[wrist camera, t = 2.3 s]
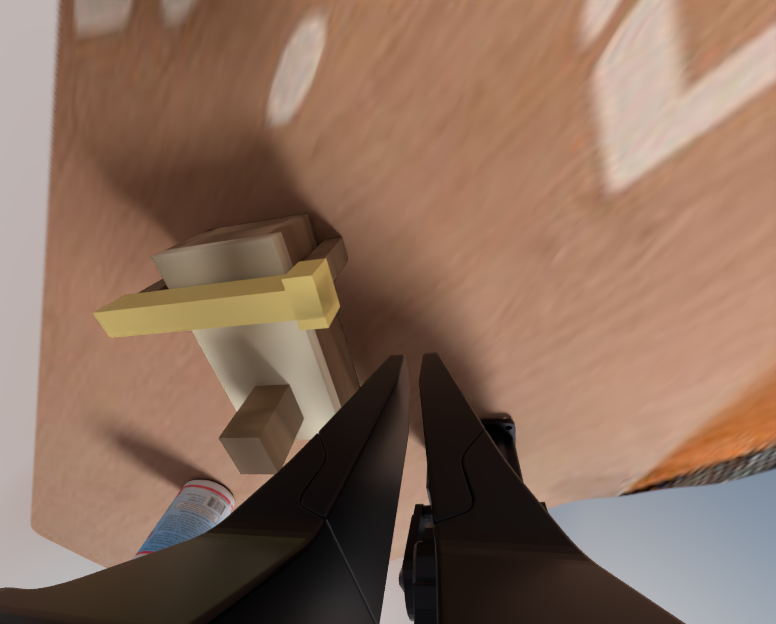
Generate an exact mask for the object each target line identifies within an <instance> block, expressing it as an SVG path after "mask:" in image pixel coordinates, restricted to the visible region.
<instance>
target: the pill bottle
mask: <svg viewBox="0 0 776 624" xmlns="http://www.w3.org/2000/svg"><path fill="white" fill-rule="evenodd" d="M234 503H235V502H234V498H233V496H232V494H231V493H230V492H229V491H228V490H227V489H226V488H224V487H223V486H221V485H219V484H217V483H215V482H213V481H209V480H192V481H189V482H187V483H186V484H185V485H184V486H183V488H182V489H181V490H180V492H179V493H178V495H177V496H176V498H175V499H174V500H173V502H172V503H171V505H170V506H169V508H168V509H167V510H166V512H165V513H164V515H163V516H162V518H161V519H160V521H159V522H158V524H157V525H156V526H155V528H154V529H153V531H152V532H151V534H150V535H149V536H148V538H147V539H146V541H145V542H144V544H143V545H142V547H141V548H140V550H139V551H138V553H137V554H136V555H135V557H134V558H133V559H135V558H138V557H141V556H144V555H147V554H150V553H152V552H155V551H158V550H161V549H164V548H167V547H170V546H172V545H175V544H178V543H181V542H184V541H187V540H189V539H192V538H194V537H196V536H199V535H201V534H203V533H205V532H206V531H208V530H210V529H211V528H213V527H214V526H216V525H217V524H219V523H220V522H221V521H223V520H224V519H225V518H226V517H227V516H229V515H230V513H231V511H232V509H233V507H234Z"/></svg>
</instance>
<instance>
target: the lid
mask: <svg viewBox="0 0 776 624" xmlns="http://www.w3.org/2000/svg"><path fill="white" fill-rule="evenodd" d="M151 258H152V260H153V261H154V263H155V265H156V267H157V269H158V270H159V272H160V274H161V276H162V278H163V279H164V281H165V283H166V285H167V287H168V288H169V289H175V288H183V287H191V286H199V285H207V284H215V283H223V282H230V281H238V280H246V279H254V278H262V277H270V276H278V275H286V274H287V273H288V272H289V271H290V270H291V269H292V268H293V265H292V262H291V260H290V257H289V254H288V251H287V248H286V245H285V242H284V239H283V236H282V233H281V232H279V233H273V234H266V235H260V236H254V237H247V238H241V239H234V240H228V241H222V242H215V243H209V244H203V245H196V246H190V247H183V248H177V249H171V250H165V251H163V252H160V253H158V254H156V255H154V256H152V257H151ZM192 332H193V334H194V335H195V337H196V339H197V341H198V343H199V344H200V346H201V348H202V350H203V352H204V353H205V355H206V357H207V359H208V361H209V362H210V364H211V366H212V368H213V370H214V371H215V373H216V375H217V377H218V379H219V380H220V382H221V384H222V386H223V388H224V389H225V391H226V393H227V395H228V397H229V398H230V400H231V402H232V404H233V406H234V407H235V409H236V411H237V413H236V414H235V415H234V417H233V418H232V420H231V421H230V423H229V424H228V425H227V427H226V428H225V430H224V431H223V433H222V434H221V435H220V437H219V440H220V441H221V443H222V444H223V446H224V448H225V449H226V451H227V452H228V454H229V456H230V457H231V459H232V460H233V462H234V464H235V465H236V467H237V468H238V470H239V472H240V473H241V474H276V473H277V472H278V471H279V470H280V469H281V468H282V466H283V464H284V462H285V460H286V457H287V455H288V453H289V451H290V449H291V447H292V444H293V442H294V440H295V439H312V438H313V437H314V436H315V435H316V434H317V433H318V434H319V430H320V429H321V428H322V427H323V426H324V425H325V424H326V423H327V422H328V421H329V420H330V419H331V418H332V417H333V416H334V415H335V413H336V412H337V411H338V410H339V409H340V408H341V405H340V402H339V399H338V396H337V393H336V390H335V388H334V385H333V382H332V379H331V376H330V373H329V370H328V367H327V364H326V361H325V358H324V356H323V353H322V350H321V347H320V344H319V341H318V338H317V335H316V332H315V329H311V330H300V329H299V326H298V323H297V320H294V321H283V322H273V323H262V324H251V325H241V326H230V327H219V328H209V329H198V330H192Z"/></svg>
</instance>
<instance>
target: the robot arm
mask: <svg viewBox="0 0 776 624" xmlns="http://www.w3.org/2000/svg"><path fill="white" fill-rule="evenodd" d="M419 387H420V397H421V407H422V417H423V427H424V437H425V447H426V457H427V484H426V488H427V493H428V498H429V502H430V505H423V504H416V505H415V509H414V515H412V518H411V523H410V529H409V534H408V539H407V544H406V549H405V555H404V560H403V565H402V568H401V571H400V574H399V585H400V587H401V588H402V590H403V591H404V593H405V603H406V609H407V614H408V617H409V619H410V620H411V621H414V624H685V623H684V622H682V621H681V620H679V619H678V618H676V617H675V616H673V615H672V614H670V613H669V612H667V611H666V610H664V609H663V608H661V607H660V606H658V605H657V604H655V603H654V602H652V601H651V600H650V599H648V598H646V597H645V596H643V595H642V594H640V593H639V592H638V591H636V590H635V589H633V588H632V587H630V586H629V585H627V584H626V583H624V582H623V581H621V580H620V579H618V578H617V577H615V576H614V575H612V574H611V573H609V572H608V571H606V570H605V569H603V568H602V567H600V566H599V565H598V564H596V563H595V562H594V561H592V560H591V559H590V558H589V557H588V556H587V555H585V554H584V553H583V552H582V551H581V550H580V549H579V548H578V547H577V546H576V545H575V544H574V543H573V542H572V541H571V540H570V538H569V537H568V536H567V535H566V534H565V533H564V531H563V530H562V529H561V528H560V527H559V525H558V524H557V523H556V522H555V520H554V519H553V518H552V517H551V516H550V514H549V513H548V511H547V508H546V505H545V502H539V501H538V500H537V499H536V497H535V496H534V495H533V494H532V493H531V491H530V490H529V489H528V488H527V486H526V485H525V484H524V482H523V478H522V474H521V469H520V465H519V460H518V456H517V452H516V447H515V424H514V421H513V420H510V419H497V420H479V418H478V416H477V415H476V413H475V412H474V410H473V408H472V407H471V405H470V403H469V402H468V400H467V399H466V397H465V395H464V394H463V392H462V391H461V389H460V387H459V386H458V384H457V382H456V381H455V379H454V378H453V376H452V374H451V373H450V371H449V370H448V368H447V366H446V365H445V363H444V361H443V360H442V358H441V357H440V355H439V354H438V353H437V352H431V353H424V354H423V358H422V365H421V371H420V378H419ZM409 409H410V377H409V371H408V366H407V361H406V357H405V355H403V354H401V355H391V356H389V357H388V358H387V359H386V361H385V362H384V363H383V364H382V365H381V366H380V367H379V368H378V369H377V370H376V371H375V372H374V373H373V374H372V375H371V376H370V377H369V379H368V380H367V381H366V382H365V383H364V384H363V385H362V386H361V387H360V388H359V389H358V390H357V391H356V392H355V393H354V394H353V395H352V397H351V398H350V399H349V400H348V401H347V402H346V403H345V404H344V405H343V406H342V407H341V408H340V409H339V410H338V411H337V412H336V413H335V415H334V416H333V417H332V418H331V419H330V420H329V421H328V422H327V423H326V424H325V425H324V426H323V427H322V428H321V429H320V430H319V434H318V433H317V434H316V435H315V436H314V437H313V438H312V439H311V440H310V441H309V442H308V443H307V444H306V445H305V446H304V447H303V448H302V449H301V450H300V451H299V452H298V453H297V454H296V455H295V456H294V457H293V458H292V459H291V460H290V461H289V462H288V463H287V464H286V465H285V466H283V467H282V468H281V469H280V470H279V471H278V472H277V473H276V474H275V475H274V476H273V477H271V478H270V479H269V480H268V481H267V482H266V483H265V484H264V485H262V486H261V487H260V488H259V489H258V490H257V491H256V492H255V493H253V494H252V495H251V496H250V497H249V498H248V499H247V500H246V501H244V502H243V503H242V504H241V505H240V506H239V507H238V508H237V509H235V510H234V511H233V512H232V513H231V514H230V515H229V516H227V517H226V518H225V519H224V520H223V521H221V522H220V523H219V524H217V525H216V526H214V527H213V528H211V529H210V530H208V531H206V532H205V533H203V534H201V535H199V536H196V537H194V538H192V539H189V540H187V541H184V542H181V543H178V544H175V545H172V546H170V547H167V548H164V549H161V550H158V551H155V552H152V553H150V554H147V555H144V556H141V557H138V558H135V559H133V560H130V561H127V562H124V563H121V564H118V565H116V566H113V567H110V568H107V569H105V570H101V571H99V572H96V573H93V574H90V575H87V576H84V577H81V578H78V579H75V580H72V581H69V582H66V583H62V584H58V585H54V586H50V587H45V588H39V589H19V588H6V587H5V588H0V624H379V623H380V616H381V610H382V603H383V597H384V591H385V584H386V578H387V571H388V565H389V558H390V552H391V545H392V539H393V532H394V526H395V519H396V513H397V506H398V500H399V494H400V487H401V481H402V474H403V468H404V461H405V455H406V448H407V442H408V433H409ZM508 425H509V426H508Z"/></svg>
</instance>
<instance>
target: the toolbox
mask: <svg viewBox="0 0 776 624" xmlns="http://www.w3.org/2000/svg"><path fill="white" fill-rule="evenodd" d="M279 232H281V233H282V236H283V239H284V242H285V245H286V248H287V251H288V254H289V257H290V260H291V262H292V265H293V267H294V266H295V265H296V264H297V263H298V262H301V261H308V260H316V259H323V258H326V259H327V263H328V266H329V270H330V273H331V277H332V280H333V282H334V280H335V279H336V277H337V276H338V274H339V273H340V271H341V270H342V268H343V267H344V265H345V264H346V262H347V261H348V257H347V253H346V250H345V246H344V242H343V238H342V237H339V238H333V239H326V240H323V241H322V243H321V244H320V245H319V246H318V243H317V240H316V236H315V233H314V230H313V226H312V223H311V219H310V216H309V213H305V214H299V215H293V216H287V217H281V218H275V219H269V220H263V221H257V222H251V223H245V224H239V225H233V226H227V227H221V228H215V229H209V230H207V231H205V232H203V233H201V234H199V235H196V236H194V237H192V238H190V239H188V240H186V241H184V242H182V243H179V244H177V245H175V246H173V247H171V248H169V249H167V250H171V249H177V248H183V247H190V246H196V245H203V244H209V243H215V242H222V241H228V240H234V239H241V238H247V237H254V236H260V235H266V234H273V233H279ZM167 289H169V288H168V287H167V285H166V283H165V281H164V279H162V280H160V281H158V282H156V283H154V284H153V285H151V286H149V287H147V288H146V289H144V290H142V291H140V292H139V293H144V292H152V291H159V290H167ZM315 332H316V335H317V338H318V341H319V344H320V347H321V350H322V353H323V356H324V358H325V361H326V364H327V367H328V370H329V373H330V376H331V379H332V382H333V385H334V388H335V390H336V393H337V396H338V399H339V402H340V405H341V407H342V406H343V405H344V404H345V403H346V402H347V401H348V400H349V399H350V398H351V397H352V395H353V394H354V393H355V392H356V391H357V390H358V389H359V388H360V385H359V382H358V379H357V375H356V372H355V369H354V365H353V362H352V358H351V355H350V352H349V348H348V345H347V341H346V338H345V335H344V331H343V328H342V324H341V321H340V318H339V314H338V311H337V313H336V315H335V317H334V319H333V321H332V323H331V324H330V326H329V328H322V329H315Z"/></svg>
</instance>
